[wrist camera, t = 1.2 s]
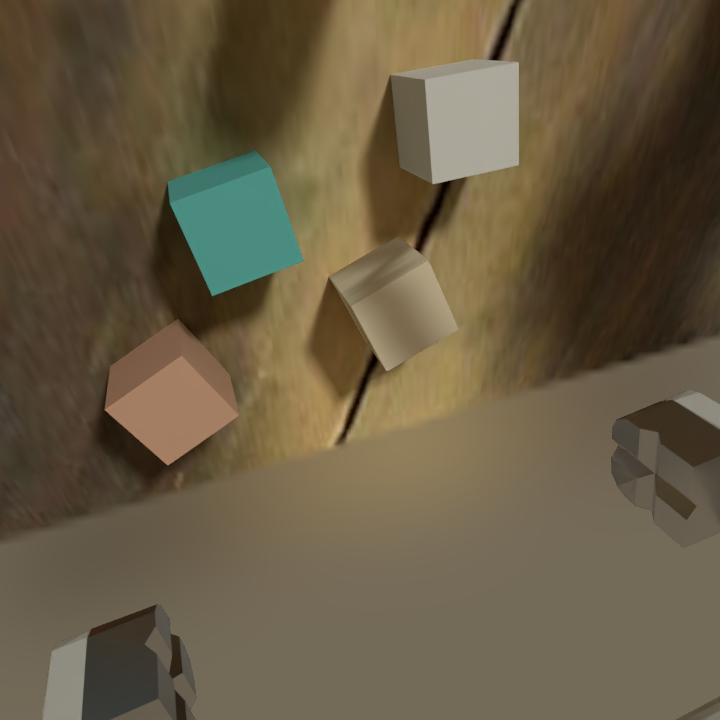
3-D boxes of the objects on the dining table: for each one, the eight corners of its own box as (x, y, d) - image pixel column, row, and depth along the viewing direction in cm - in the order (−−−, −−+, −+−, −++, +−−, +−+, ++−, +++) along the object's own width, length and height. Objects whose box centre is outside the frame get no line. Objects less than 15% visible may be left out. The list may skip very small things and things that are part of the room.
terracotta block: (178, 317, 36) (181, 355, 31) (229, 374, 38) (239, 415, 34) (110, 366, 36) (104, 409, 31) (166, 418, 38) (167, 465, 34)
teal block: (255, 149, 33) (270, 166, 28) (285, 234, 35) (303, 260, 31) (167, 181, 32) (169, 203, 28) (205, 264, 35) (212, 296, 30)
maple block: (397, 235, 37) (428, 260, 33) (426, 298, 40) (458, 329, 36) (328, 276, 37) (350, 306, 33) (362, 336, 40) (386, 371, 36)
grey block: (472, 59, 34) (518, 62, 30) (476, 150, 36) (518, 165, 32) (389, 74, 33) (424, 79, 29) (399, 167, 35) (432, 184, 31)
